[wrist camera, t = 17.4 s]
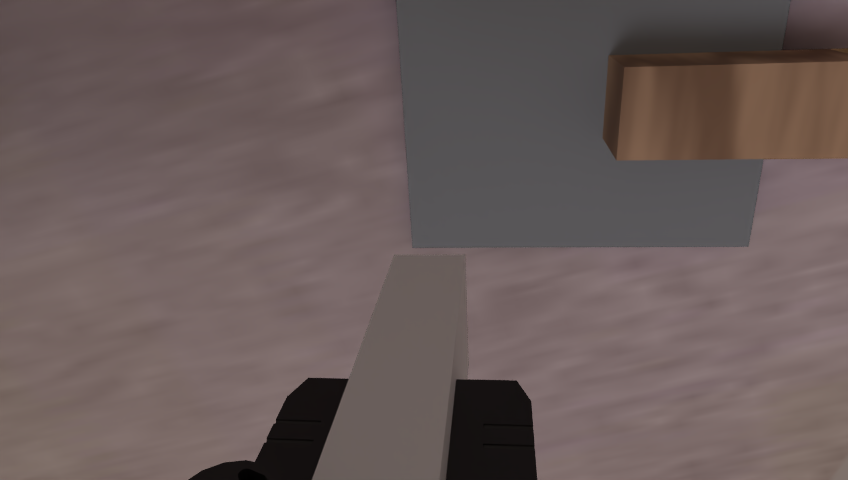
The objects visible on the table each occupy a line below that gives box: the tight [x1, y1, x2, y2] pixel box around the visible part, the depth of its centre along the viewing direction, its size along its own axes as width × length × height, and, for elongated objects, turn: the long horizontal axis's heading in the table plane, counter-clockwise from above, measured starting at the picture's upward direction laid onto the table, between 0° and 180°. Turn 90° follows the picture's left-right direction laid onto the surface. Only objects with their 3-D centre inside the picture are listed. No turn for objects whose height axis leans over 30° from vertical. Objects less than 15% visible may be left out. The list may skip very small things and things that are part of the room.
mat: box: [396, 0, 791, 248], centre depth 34 cm, size 20×18×1 cm
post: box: [602, 48, 848, 161], centre depth 31 cm, size 4×4×12 cm
